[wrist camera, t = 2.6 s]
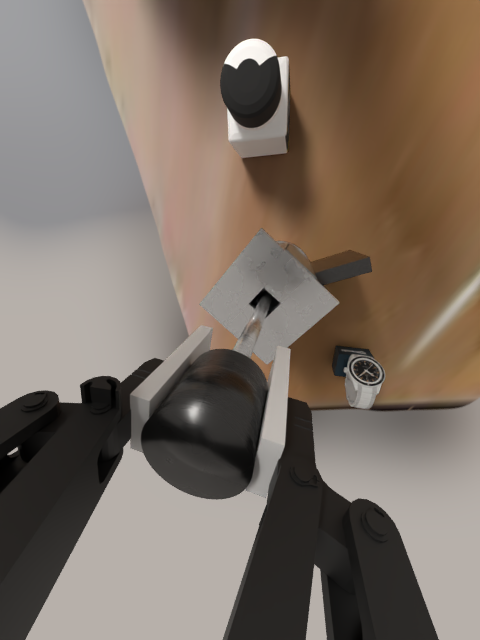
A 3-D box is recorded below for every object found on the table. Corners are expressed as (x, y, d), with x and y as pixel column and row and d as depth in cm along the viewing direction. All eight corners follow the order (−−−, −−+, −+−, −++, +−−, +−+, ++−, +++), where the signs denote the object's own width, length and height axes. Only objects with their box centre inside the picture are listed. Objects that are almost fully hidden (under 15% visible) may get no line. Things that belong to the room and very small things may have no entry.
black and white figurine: (288, 153, 34) (284, 116, 23) (240, 159, 35) (215, 126, 24) (290, 90, 31) (287, 14, 20) (239, 99, 33) (209, 33, 22)
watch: (371, 339, 40) (396, 375, 30) (361, 378, 43) (380, 422, 33) (337, 335, 41) (350, 369, 31) (329, 373, 44) (339, 415, 34)
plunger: (268, 240, 27) (158, 275, 6) (321, 290, 27) (400, 490, 6) (223, 292, 30) (52, 434, 9) (271, 336, 31) (215, 562, 10)
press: (297, 201, 35) (297, 176, 20) (352, 254, 36) (394, 272, 20) (233, 276, 42) (194, 304, 26) (281, 320, 43) (271, 373, 27)
